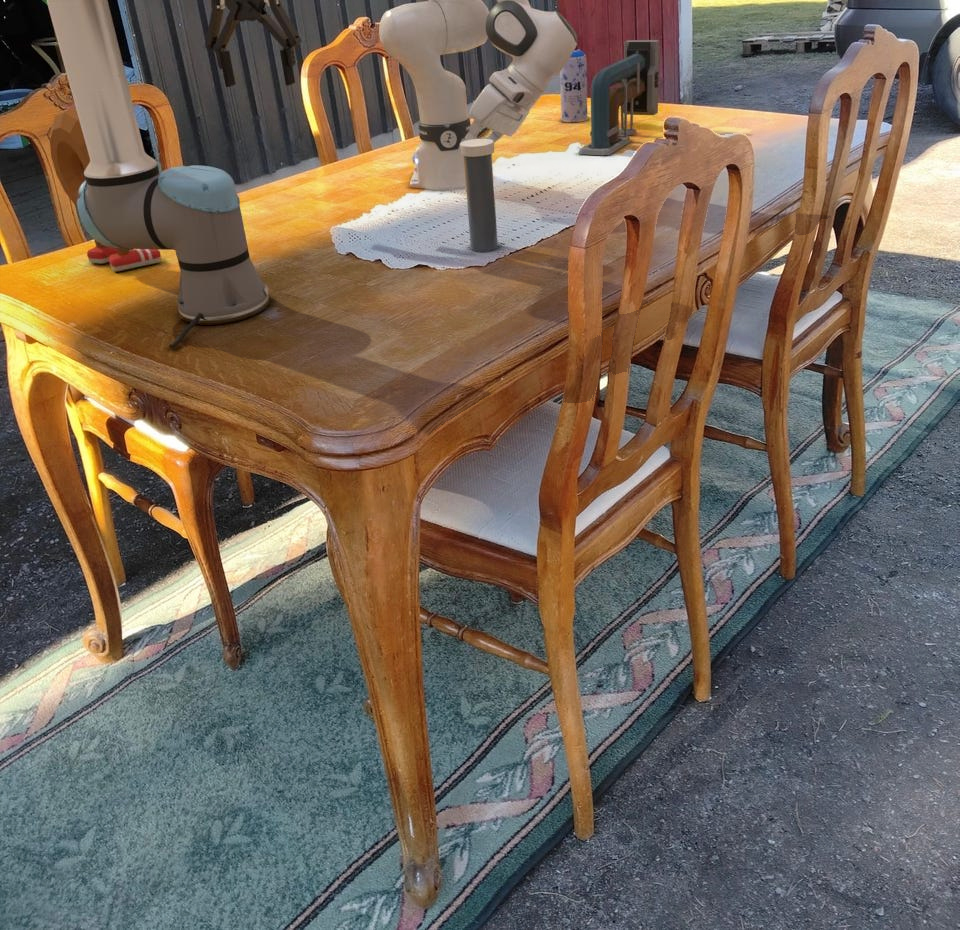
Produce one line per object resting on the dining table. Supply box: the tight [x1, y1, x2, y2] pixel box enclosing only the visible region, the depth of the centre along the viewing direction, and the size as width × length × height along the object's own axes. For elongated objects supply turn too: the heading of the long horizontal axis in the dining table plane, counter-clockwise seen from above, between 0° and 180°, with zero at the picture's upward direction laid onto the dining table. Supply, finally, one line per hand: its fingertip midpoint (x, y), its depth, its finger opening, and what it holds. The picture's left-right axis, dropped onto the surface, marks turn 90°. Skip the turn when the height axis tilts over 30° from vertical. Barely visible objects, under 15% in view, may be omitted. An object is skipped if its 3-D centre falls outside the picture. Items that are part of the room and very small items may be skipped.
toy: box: [49, 104, 163, 272], centre depth 186 cm, size 21×10×30 cm, turn 47°
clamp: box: [578, 39, 660, 156], centre depth 247 cm, size 35×9×21 cm, turn 151°
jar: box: [463, 153, 499, 253], centre depth 180 cm, size 5×5×19 cm
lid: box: [460, 138, 495, 157], centre depth 175 cm, size 6×6×2 cm
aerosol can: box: [559, 44, 589, 123], centre depth 273 cm, size 8×8×20 cm
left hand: (260, 85), depth 196 cm, fingers open, 13 cm apart
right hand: (476, 144), depth 205 cm, fingers open, 8 cm apart
